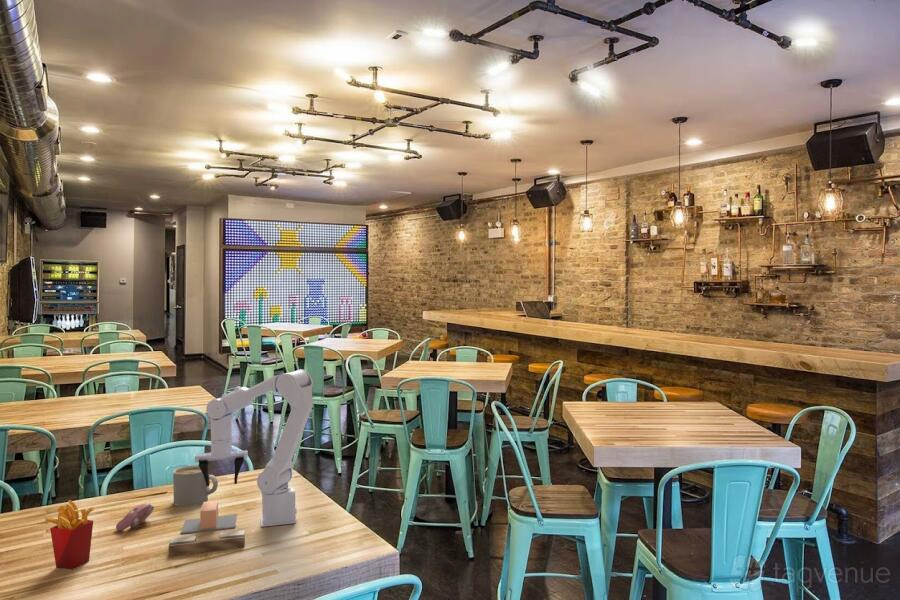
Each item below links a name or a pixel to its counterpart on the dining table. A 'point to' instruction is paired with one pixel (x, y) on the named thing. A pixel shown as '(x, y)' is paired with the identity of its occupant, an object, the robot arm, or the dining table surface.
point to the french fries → (71, 536)
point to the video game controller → (135, 517)
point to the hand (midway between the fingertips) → (221, 484)
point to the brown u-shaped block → (206, 543)
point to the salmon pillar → (209, 514)
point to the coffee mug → (191, 486)
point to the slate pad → (222, 523)
